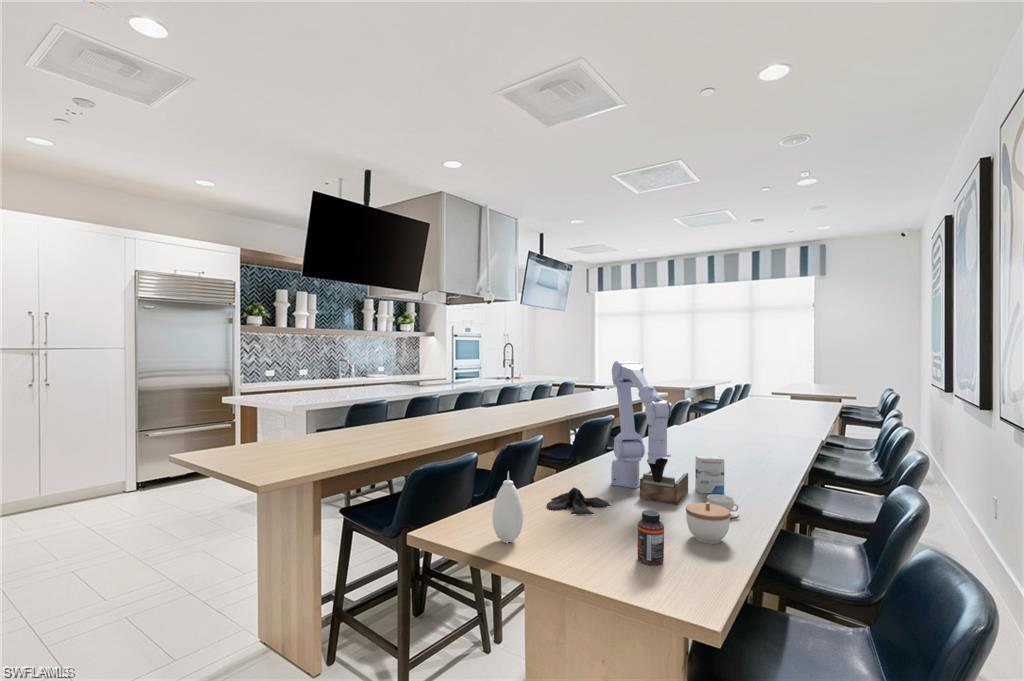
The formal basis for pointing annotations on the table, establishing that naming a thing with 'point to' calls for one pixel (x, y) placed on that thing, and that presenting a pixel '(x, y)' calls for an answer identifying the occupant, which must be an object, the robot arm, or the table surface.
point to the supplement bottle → (650, 538)
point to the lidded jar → (707, 521)
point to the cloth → (576, 502)
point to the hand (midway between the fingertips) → (657, 481)
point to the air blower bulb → (507, 512)
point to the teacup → (724, 503)
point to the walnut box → (664, 491)
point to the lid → (664, 478)
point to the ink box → (709, 474)
